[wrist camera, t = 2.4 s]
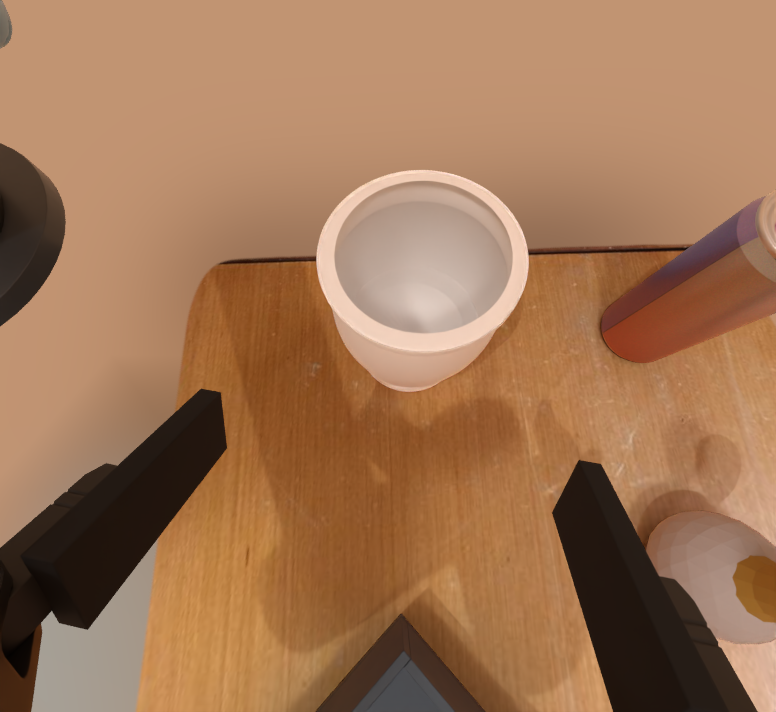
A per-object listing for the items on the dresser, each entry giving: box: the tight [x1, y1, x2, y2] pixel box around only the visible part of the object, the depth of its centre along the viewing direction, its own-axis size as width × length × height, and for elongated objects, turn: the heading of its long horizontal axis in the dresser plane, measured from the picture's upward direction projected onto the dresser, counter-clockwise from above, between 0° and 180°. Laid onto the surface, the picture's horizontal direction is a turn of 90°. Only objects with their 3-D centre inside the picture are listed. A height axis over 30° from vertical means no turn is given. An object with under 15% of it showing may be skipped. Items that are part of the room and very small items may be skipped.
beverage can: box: [601, 190, 776, 363], centre depth 25 cm, size 6×6×15 cm
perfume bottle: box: [646, 511, 776, 644], centre depth 22 cm, size 8×10×12 cm
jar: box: [317, 170, 529, 392], centre depth 25 cm, size 11×10×15 cm
